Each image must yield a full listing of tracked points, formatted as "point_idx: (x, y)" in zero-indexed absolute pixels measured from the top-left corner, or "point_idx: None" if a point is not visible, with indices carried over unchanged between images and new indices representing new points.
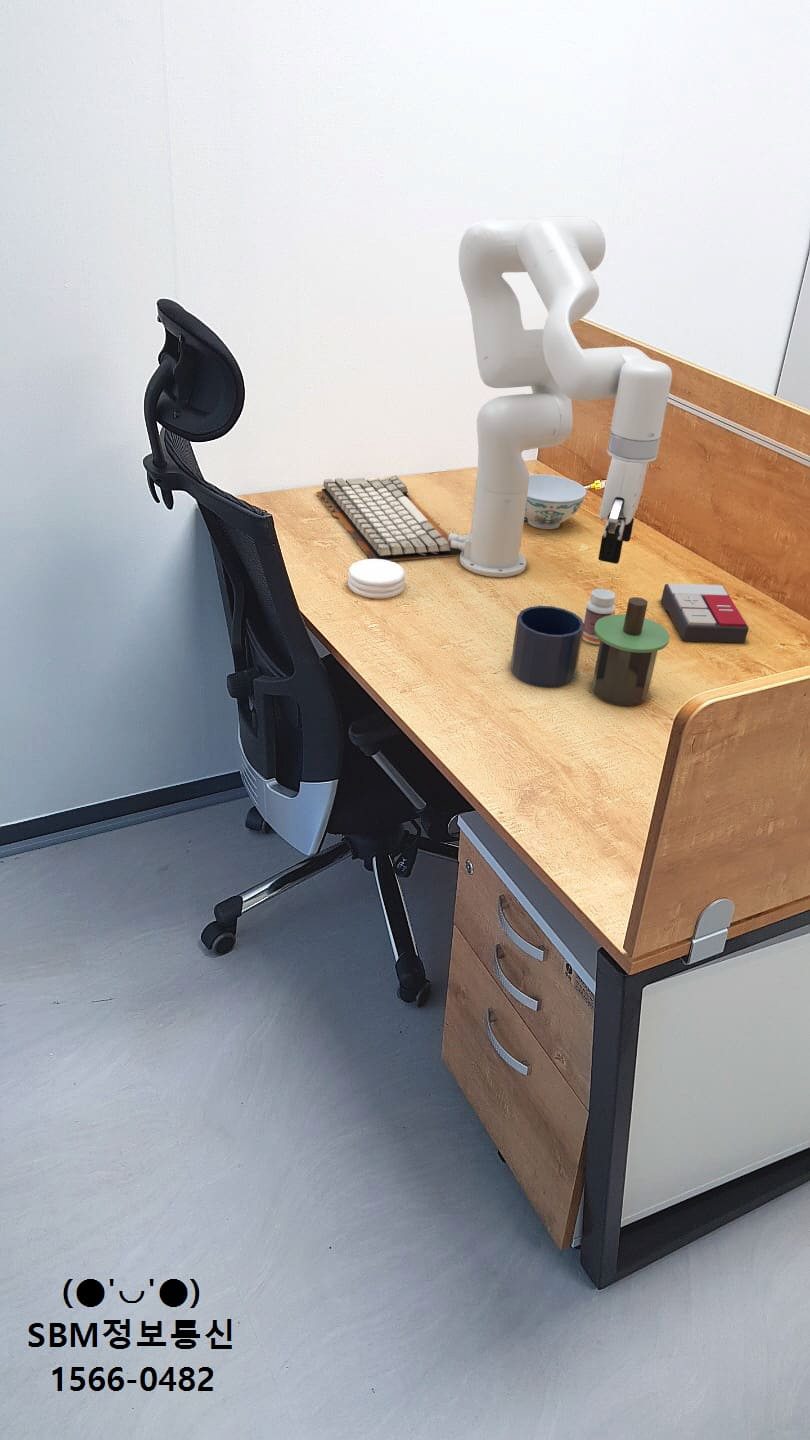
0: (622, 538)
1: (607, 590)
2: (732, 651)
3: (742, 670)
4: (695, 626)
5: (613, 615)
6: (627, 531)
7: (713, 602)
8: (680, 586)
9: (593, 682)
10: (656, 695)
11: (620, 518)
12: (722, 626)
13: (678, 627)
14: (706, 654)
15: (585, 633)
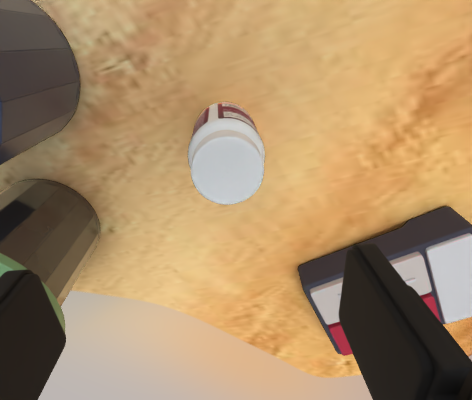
0: (344, 303)
1: (256, 176)
2: (296, 323)
3: (243, 340)
4: (308, 298)
5: (3, 268)
6: (361, 354)
7: None
8: (462, 257)
9: (4, 190)
10: (87, 270)
11: (409, 394)
12: (327, 328)
13: (330, 258)
14: (268, 299)
15: (199, 117)
